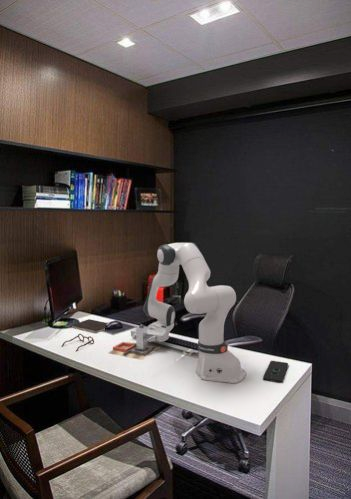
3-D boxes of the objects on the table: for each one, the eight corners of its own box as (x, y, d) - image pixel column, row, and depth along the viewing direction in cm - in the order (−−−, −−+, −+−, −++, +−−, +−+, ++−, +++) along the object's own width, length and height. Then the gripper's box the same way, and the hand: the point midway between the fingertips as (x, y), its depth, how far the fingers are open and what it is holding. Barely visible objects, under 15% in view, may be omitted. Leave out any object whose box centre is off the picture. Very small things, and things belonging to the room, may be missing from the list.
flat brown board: (160, 350, 194) (160, 344, 193) (141, 362, 178) (141, 356, 177) (127, 344, 203) (127, 339, 203) (107, 355, 187) (107, 350, 187)
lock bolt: (147, 350, 189) (146, 324, 188) (143, 353, 185) (142, 326, 184) (141, 349, 191) (140, 323, 189) (136, 352, 187) (135, 325, 186)
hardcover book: (96, 334, 224) (95, 330, 223) (71, 328, 237) (70, 324, 236) (114, 327, 237) (114, 324, 237) (89, 322, 250) (89, 318, 249)
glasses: (94, 345, 205) (94, 336, 204) (75, 352, 194) (75, 343, 194) (79, 340, 212) (79, 332, 212) (60, 347, 202) (60, 338, 201)
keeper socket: (136, 346, 195) (136, 344, 195) (126, 352, 187) (126, 349, 187) (122, 344, 199) (122, 341, 199) (112, 349, 191) (112, 347, 191)
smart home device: (262, 377, 157) (270, 360, 175) (262, 381, 157) (270, 363, 175) (282, 380, 153) (288, 362, 171) (282, 384, 153) (288, 366, 171)
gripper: (138, 323, 203) (124, 330, 191) (171, 327, 194) (157, 335, 182) (139, 334, 204) (124, 342, 192) (171, 339, 194) (158, 347, 182)
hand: (140, 339), depth 187 cm, fingers open, 8 cm apart
